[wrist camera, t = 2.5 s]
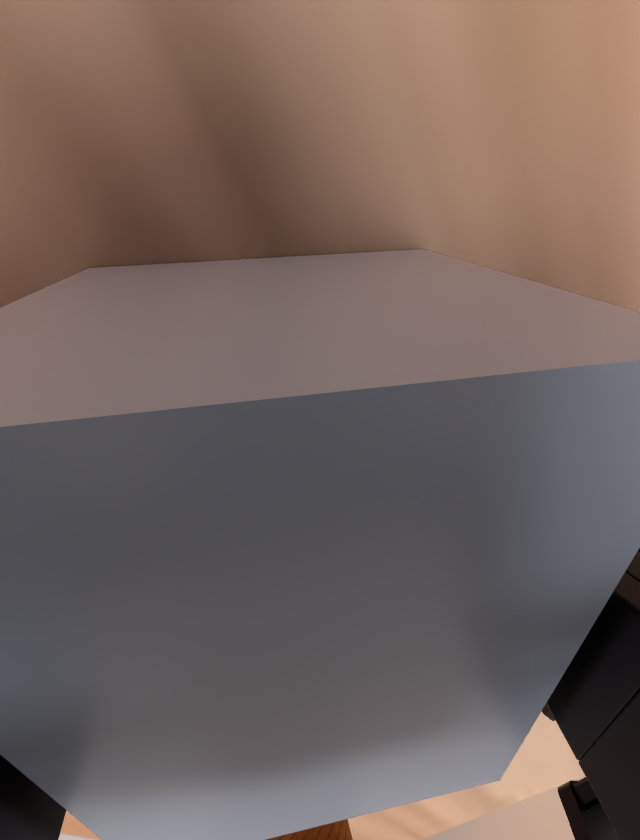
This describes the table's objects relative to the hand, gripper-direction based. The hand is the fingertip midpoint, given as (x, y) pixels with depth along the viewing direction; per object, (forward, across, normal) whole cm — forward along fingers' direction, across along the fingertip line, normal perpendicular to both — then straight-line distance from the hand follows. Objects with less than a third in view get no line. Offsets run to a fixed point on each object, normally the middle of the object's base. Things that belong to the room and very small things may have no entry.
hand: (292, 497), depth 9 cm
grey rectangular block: (+2, 0, 0) cm, 2 cm away
